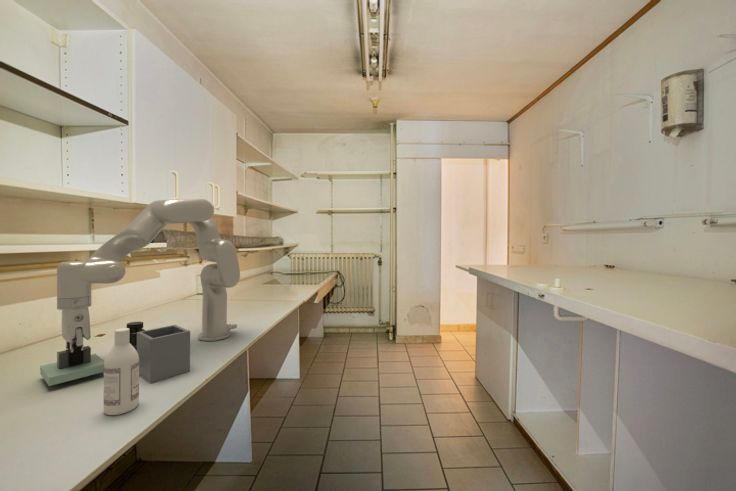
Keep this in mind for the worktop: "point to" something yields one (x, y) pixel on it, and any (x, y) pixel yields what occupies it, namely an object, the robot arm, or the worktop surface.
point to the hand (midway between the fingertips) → (74, 362)
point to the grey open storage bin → (163, 352)
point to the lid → (71, 367)
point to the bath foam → (121, 375)
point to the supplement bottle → (134, 332)
